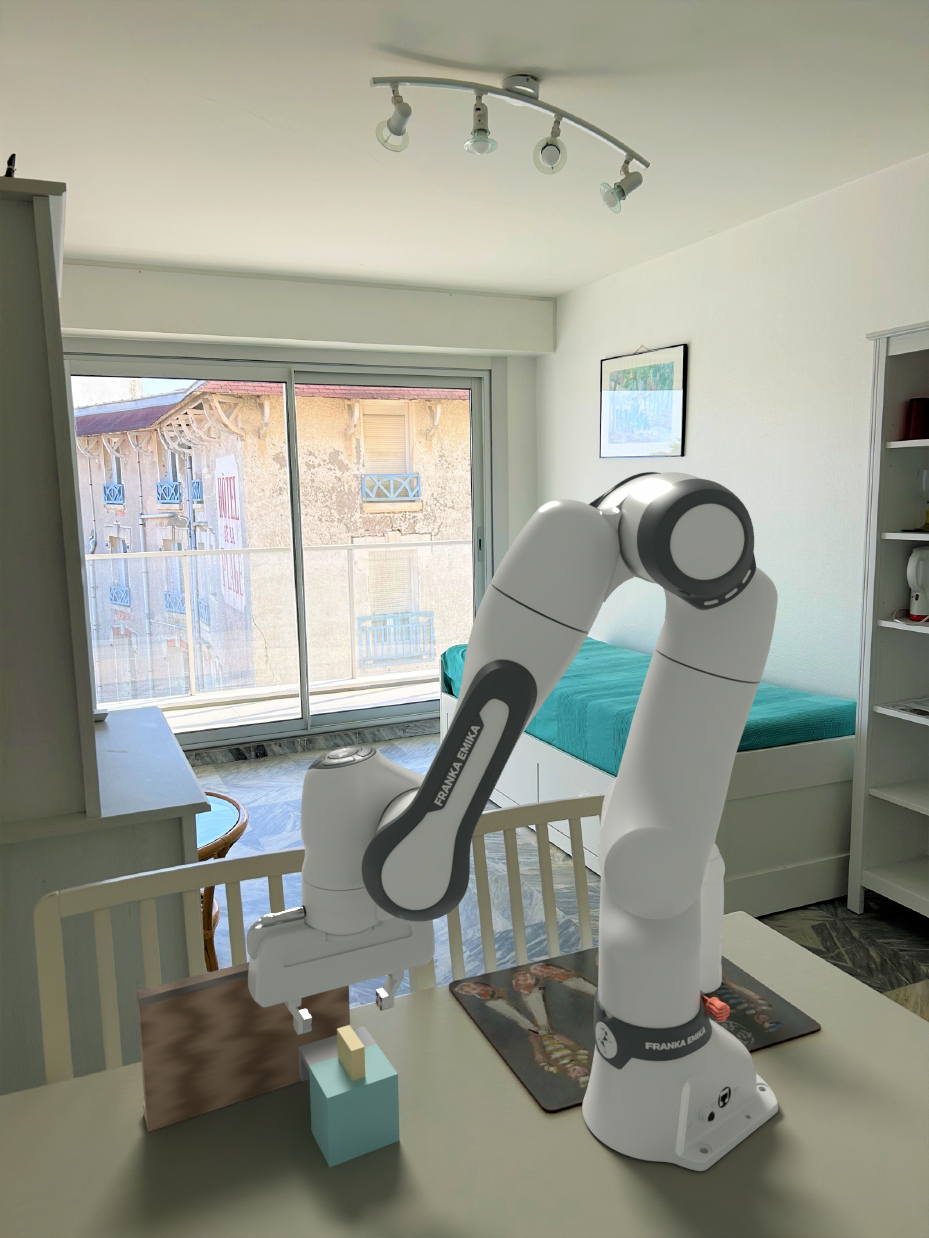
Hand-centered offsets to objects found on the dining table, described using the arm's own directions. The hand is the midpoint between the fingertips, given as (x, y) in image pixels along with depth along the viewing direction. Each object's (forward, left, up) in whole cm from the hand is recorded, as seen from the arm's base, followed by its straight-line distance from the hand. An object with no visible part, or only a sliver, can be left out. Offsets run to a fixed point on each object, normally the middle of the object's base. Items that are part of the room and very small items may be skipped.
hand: (344, 1018), depth 95 cm
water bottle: (-55, -4, -14) cm, 56 cm away
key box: (-1, -1, -14) cm, 14 cm away
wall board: (+7, -12, -14) cm, 19 cm away
